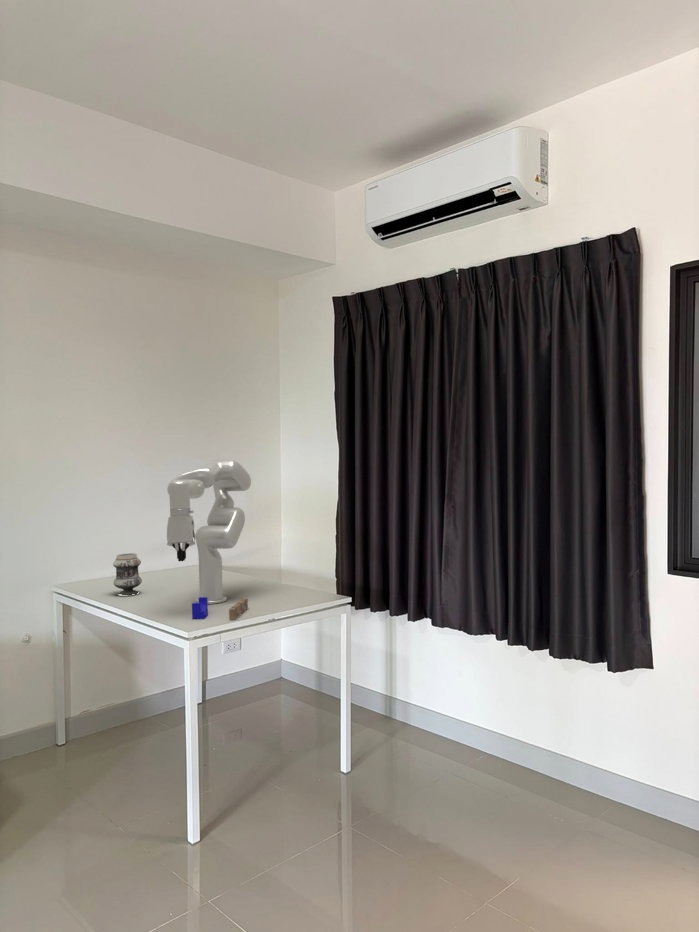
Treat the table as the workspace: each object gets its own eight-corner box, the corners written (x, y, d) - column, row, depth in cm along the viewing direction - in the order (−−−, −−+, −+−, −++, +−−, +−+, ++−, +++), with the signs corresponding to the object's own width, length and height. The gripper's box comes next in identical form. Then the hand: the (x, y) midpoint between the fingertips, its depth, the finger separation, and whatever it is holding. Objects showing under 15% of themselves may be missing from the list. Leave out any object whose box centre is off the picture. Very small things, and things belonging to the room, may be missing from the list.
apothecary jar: (129, 590, 320) (128, 551, 320) (147, 593, 313) (146, 553, 313) (107, 595, 310) (106, 555, 309) (126, 598, 303) (125, 556, 303)
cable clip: (204, 619, 259) (203, 603, 259) (192, 619, 259) (191, 603, 259) (211, 612, 271) (211, 596, 271) (200, 612, 271) (199, 597, 271)
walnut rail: (242, 608, 276) (242, 598, 276) (247, 608, 276) (247, 598, 276) (229, 620, 256) (229, 609, 256) (234, 620, 256) (234, 609, 256)
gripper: (202, 511, 271) (203, 559, 271) (164, 512, 272) (166, 559, 272) (196, 513, 263) (197, 562, 263) (157, 514, 265) (159, 562, 265)
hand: (181, 560), depth 268 cm, fingers closed
